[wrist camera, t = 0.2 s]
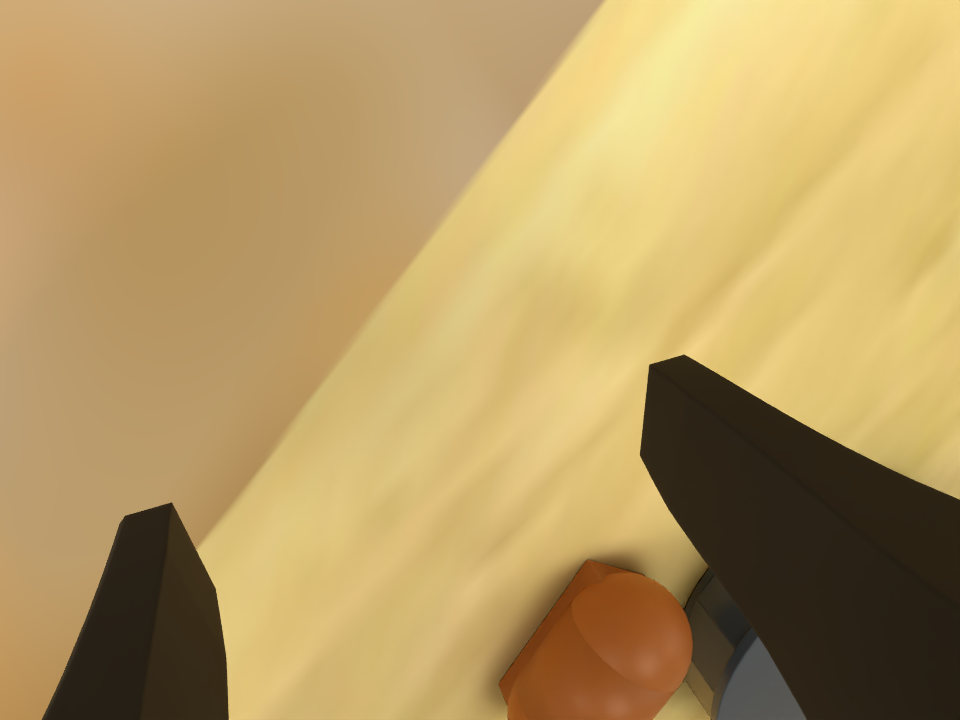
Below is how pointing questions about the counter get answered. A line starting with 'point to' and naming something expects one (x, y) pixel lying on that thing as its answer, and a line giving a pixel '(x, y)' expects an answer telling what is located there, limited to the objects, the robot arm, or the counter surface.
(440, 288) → the counter surface
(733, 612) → the pot
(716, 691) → the pot lid
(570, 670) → the orange capsule
